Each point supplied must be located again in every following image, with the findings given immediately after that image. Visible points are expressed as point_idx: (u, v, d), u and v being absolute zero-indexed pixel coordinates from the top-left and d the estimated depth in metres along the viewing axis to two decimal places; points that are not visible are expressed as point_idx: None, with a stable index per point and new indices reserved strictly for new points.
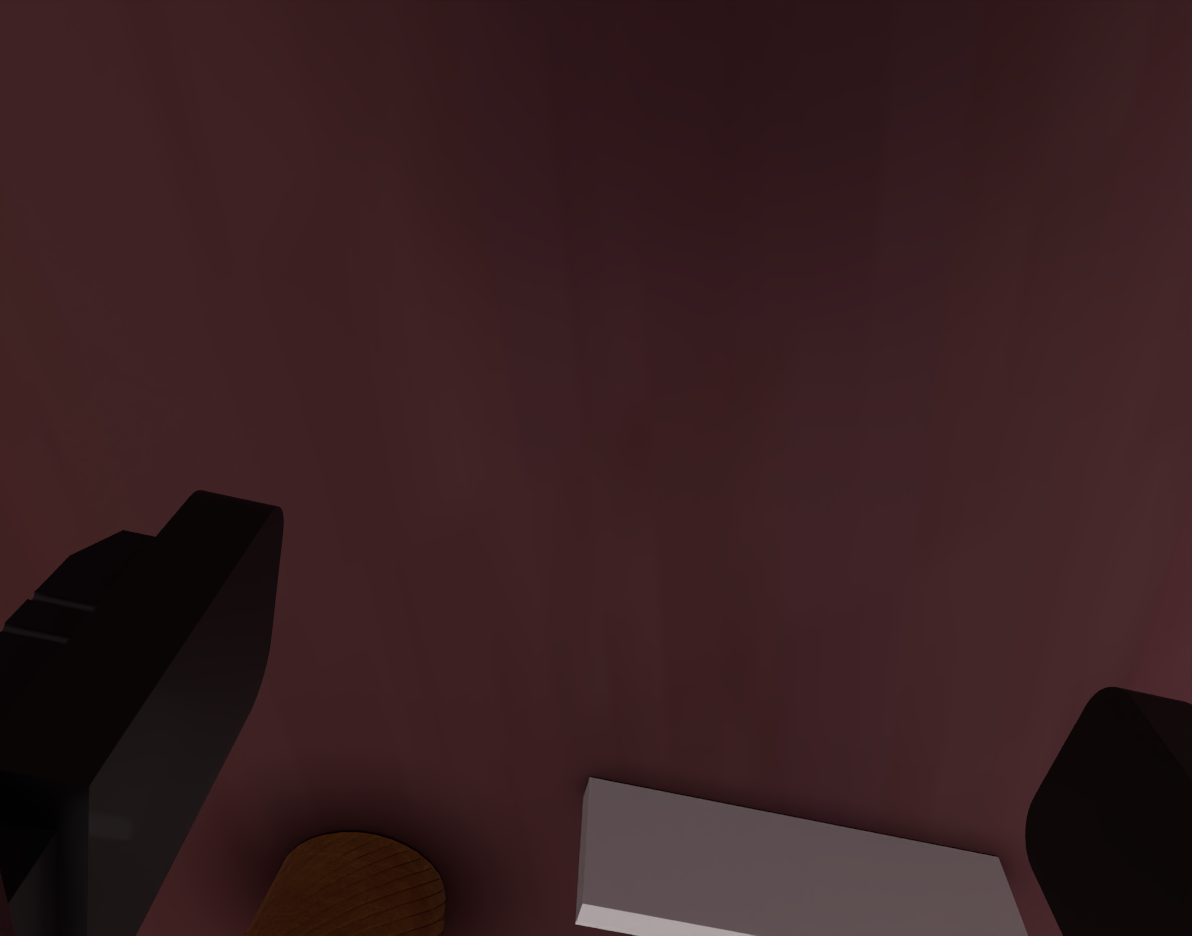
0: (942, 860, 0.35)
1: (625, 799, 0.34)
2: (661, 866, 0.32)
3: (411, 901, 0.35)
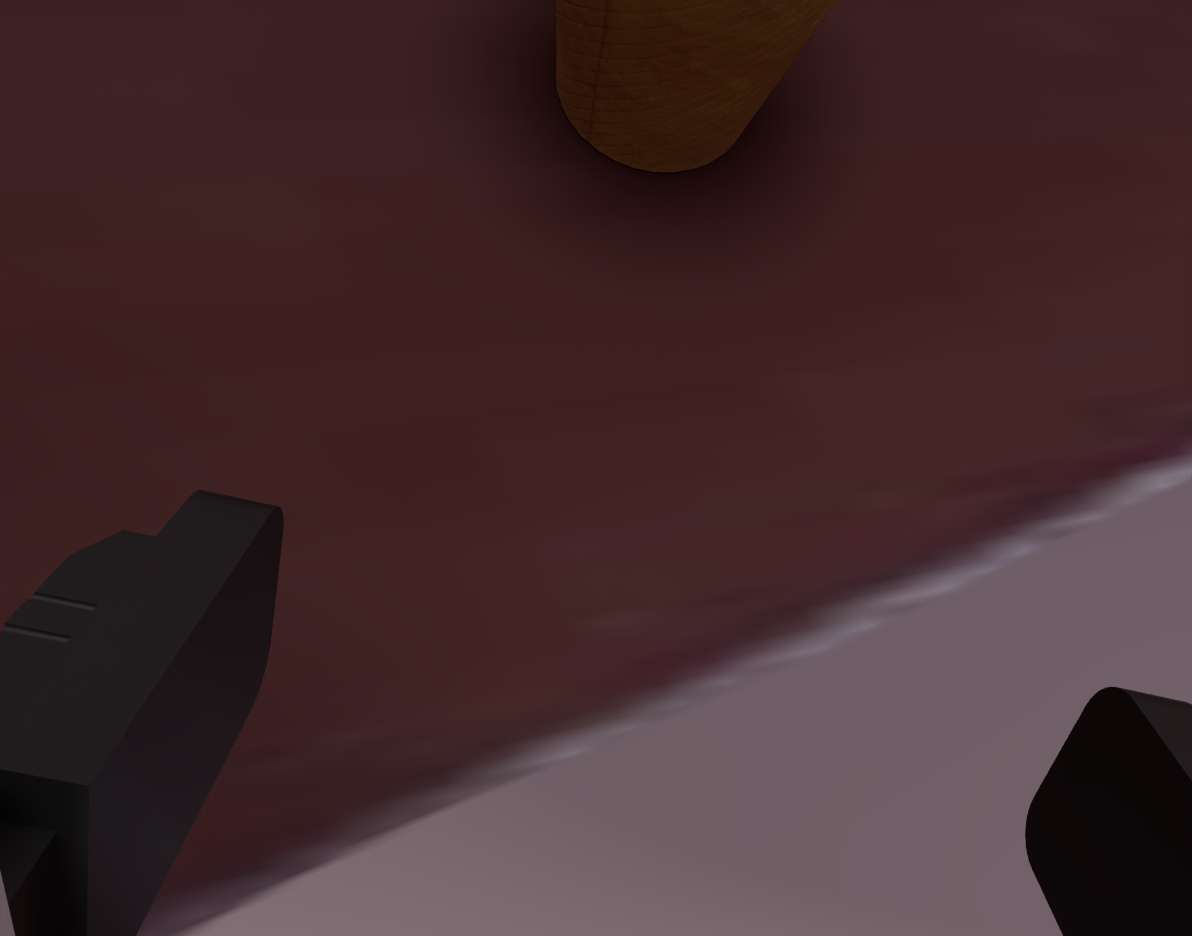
0: None
1: None
2: None
3: None
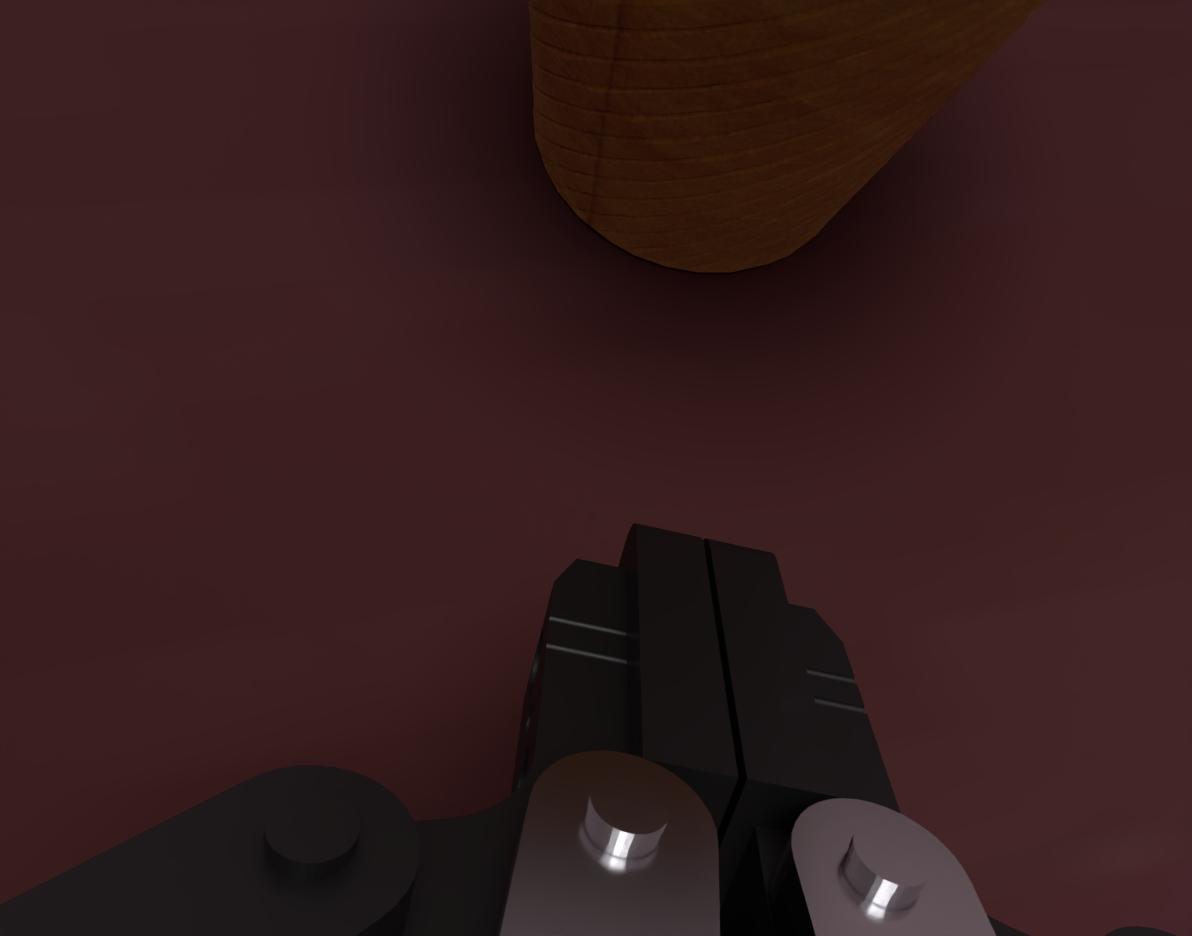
0: None
1: None
2: None
3: None
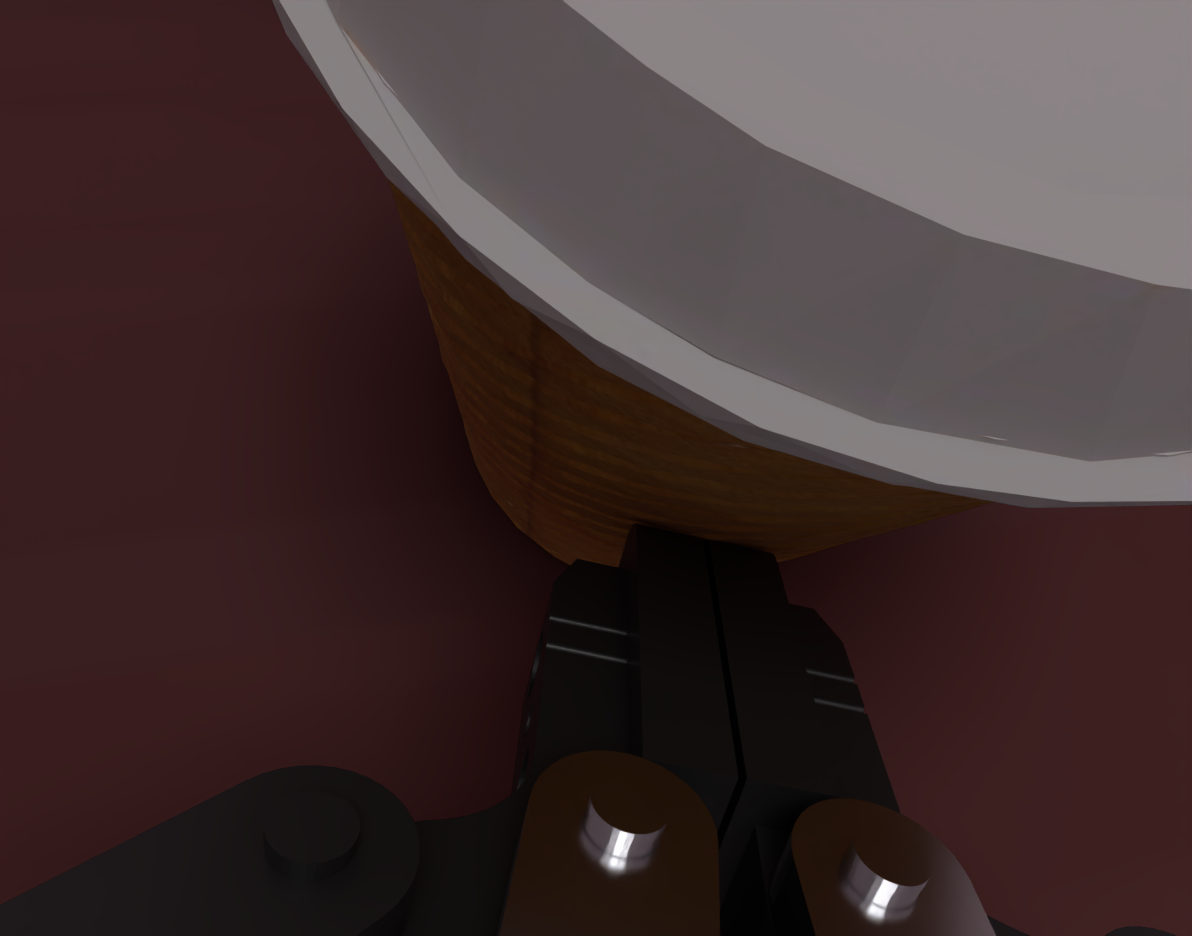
0: None
1: None
2: None
3: None
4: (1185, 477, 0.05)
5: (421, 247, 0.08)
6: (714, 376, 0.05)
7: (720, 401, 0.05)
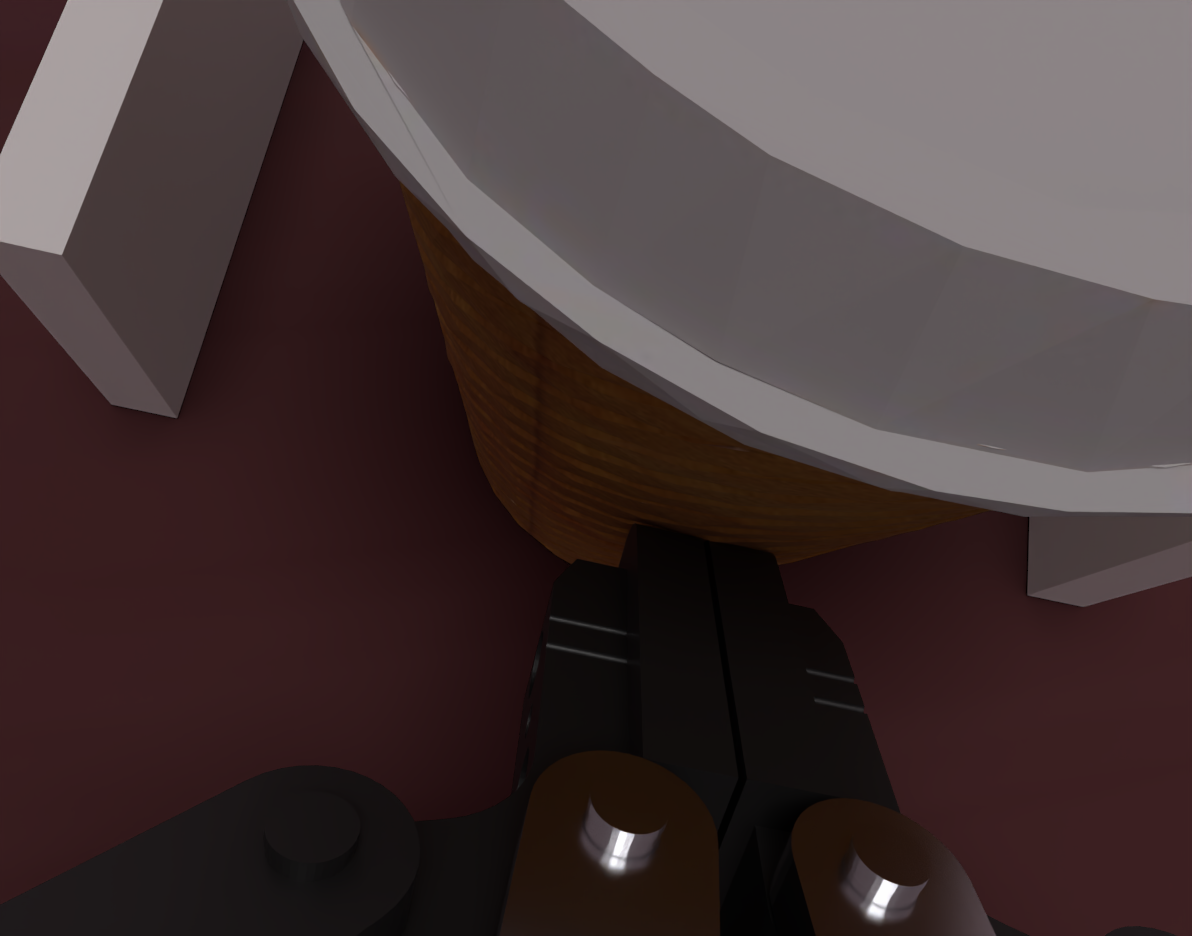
0: None
1: None
2: None
3: None
4: (1181, 489, 0.05)
5: (429, 246, 0.08)
6: (716, 380, 0.05)
7: (721, 405, 0.05)
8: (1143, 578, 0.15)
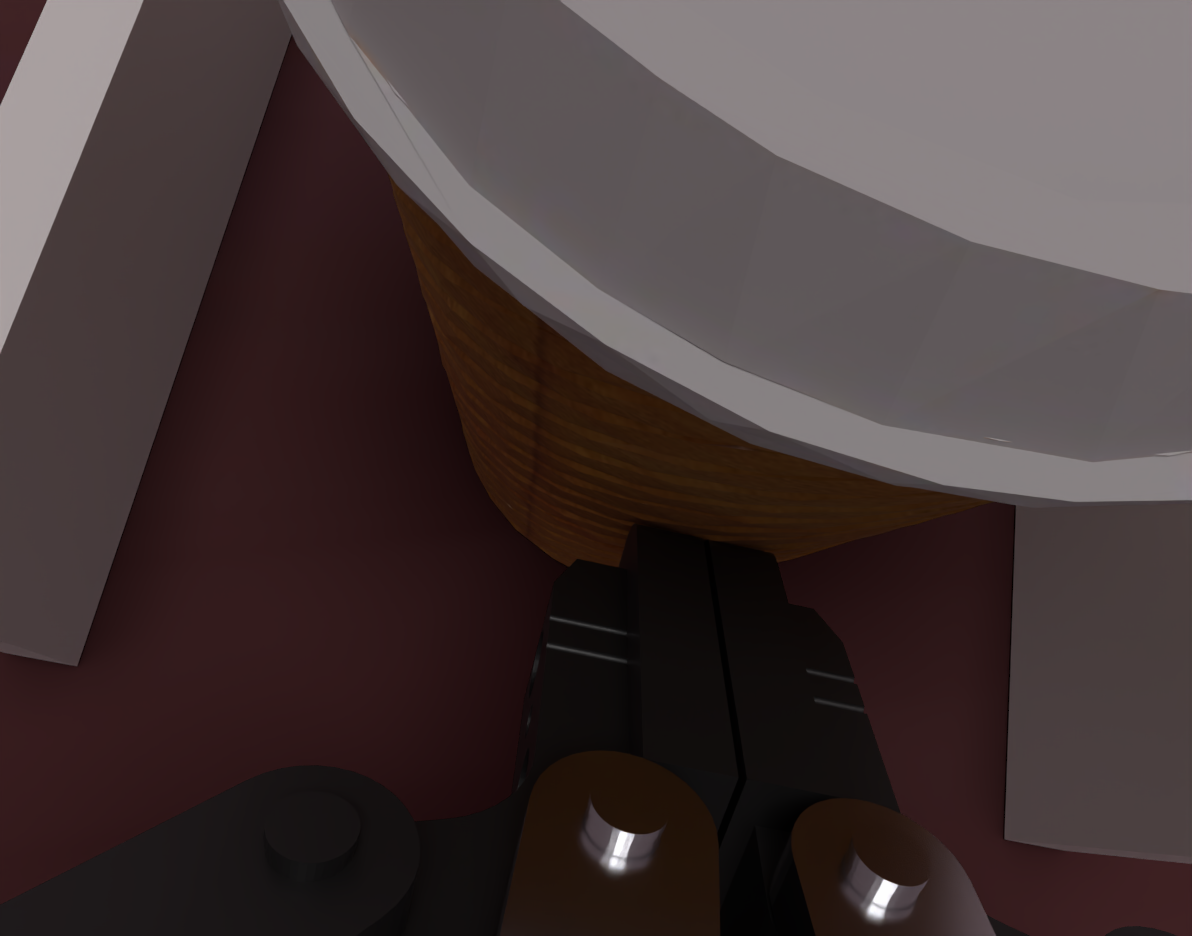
0: None
1: None
2: None
3: None
4: (1185, 477, 0.05)
5: (425, 253, 0.08)
6: (723, 381, 0.05)
7: (729, 405, 0.05)
8: (1128, 855, 0.14)
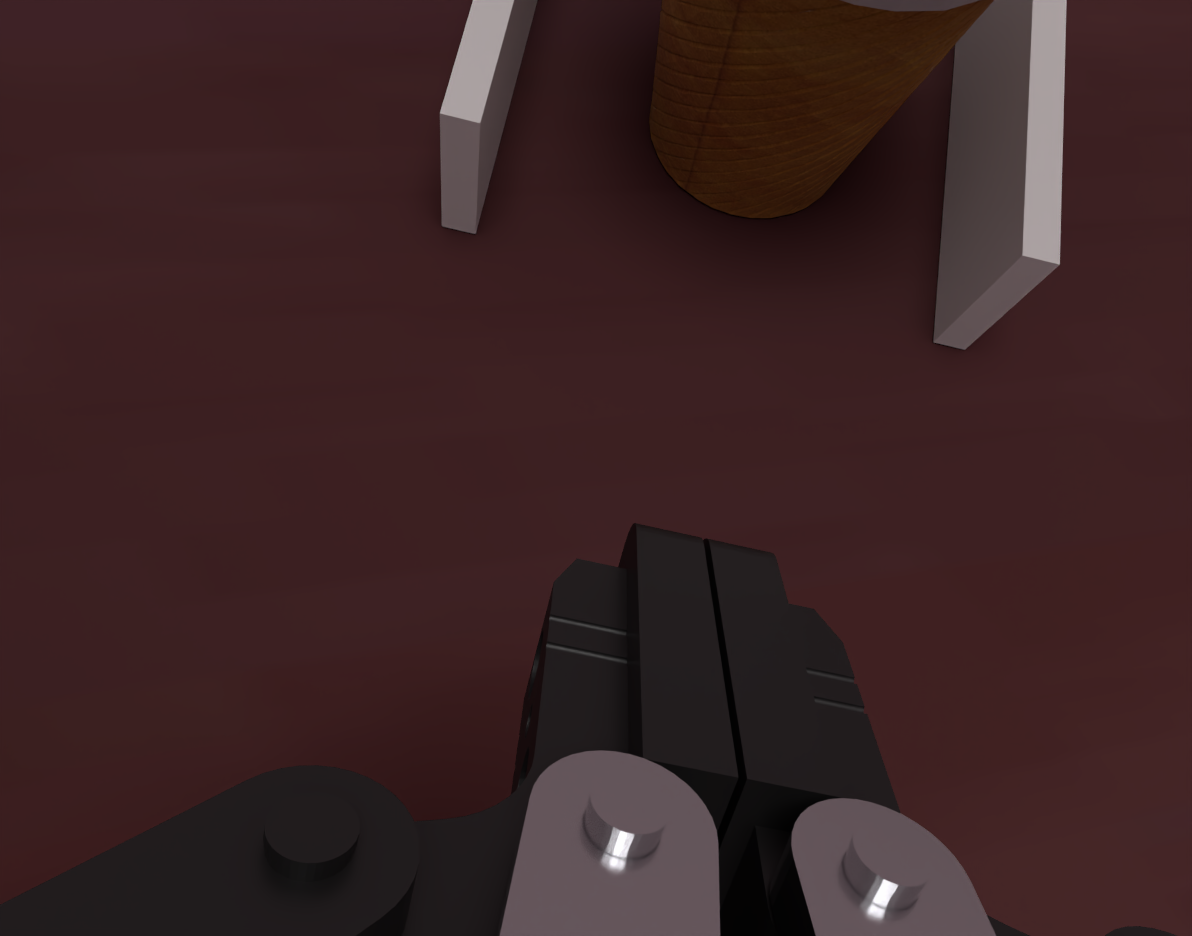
0: None
1: None
2: None
3: None
4: None
5: None
6: None
7: None
8: (987, 315, 0.28)
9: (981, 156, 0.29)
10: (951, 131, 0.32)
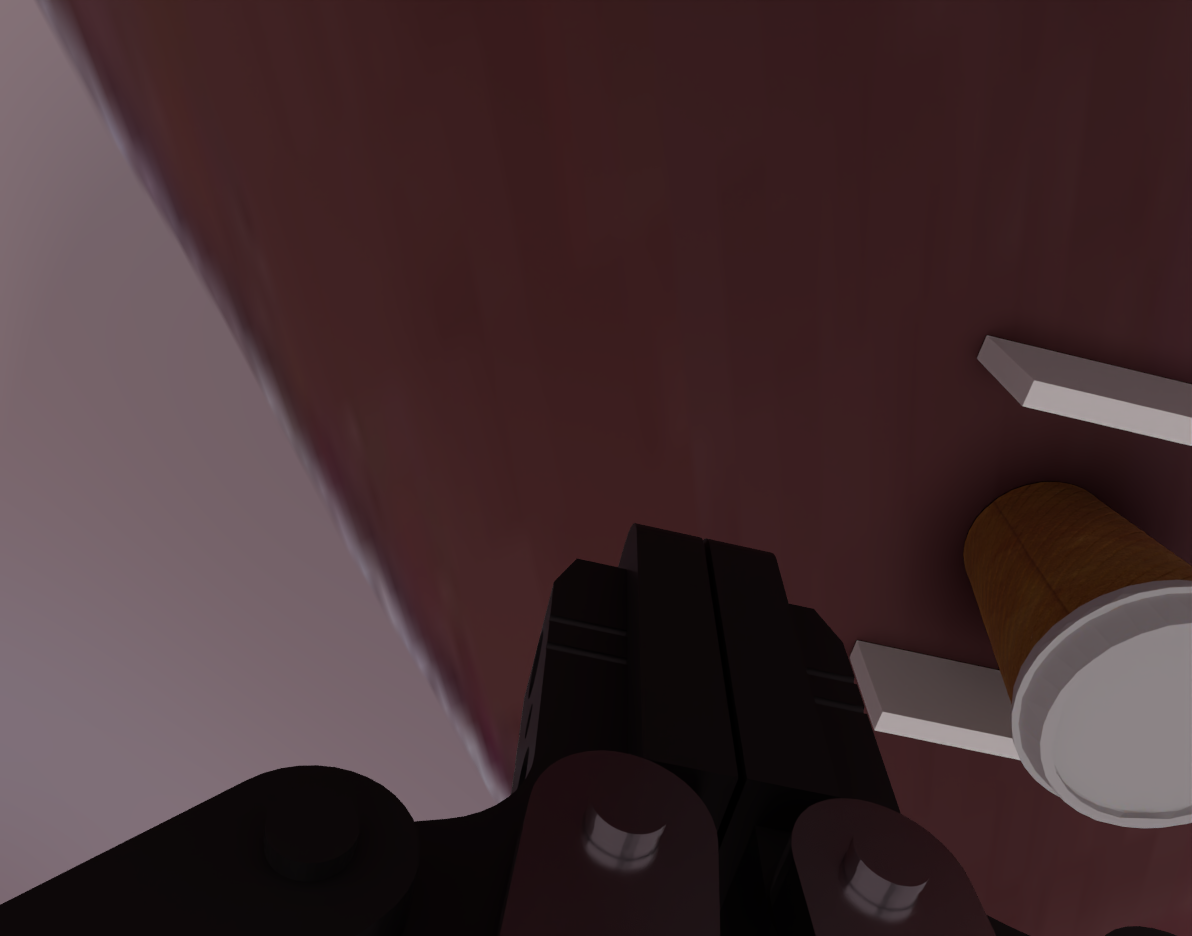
0: None
1: (1023, 348, 0.39)
2: (1078, 377, 0.37)
3: None
4: (1016, 709, 0.34)
5: (1091, 570, 0.35)
6: (1047, 651, 0.33)
7: (1043, 650, 0.33)
8: (861, 678, 0.44)
9: (977, 695, 0.44)
10: None
